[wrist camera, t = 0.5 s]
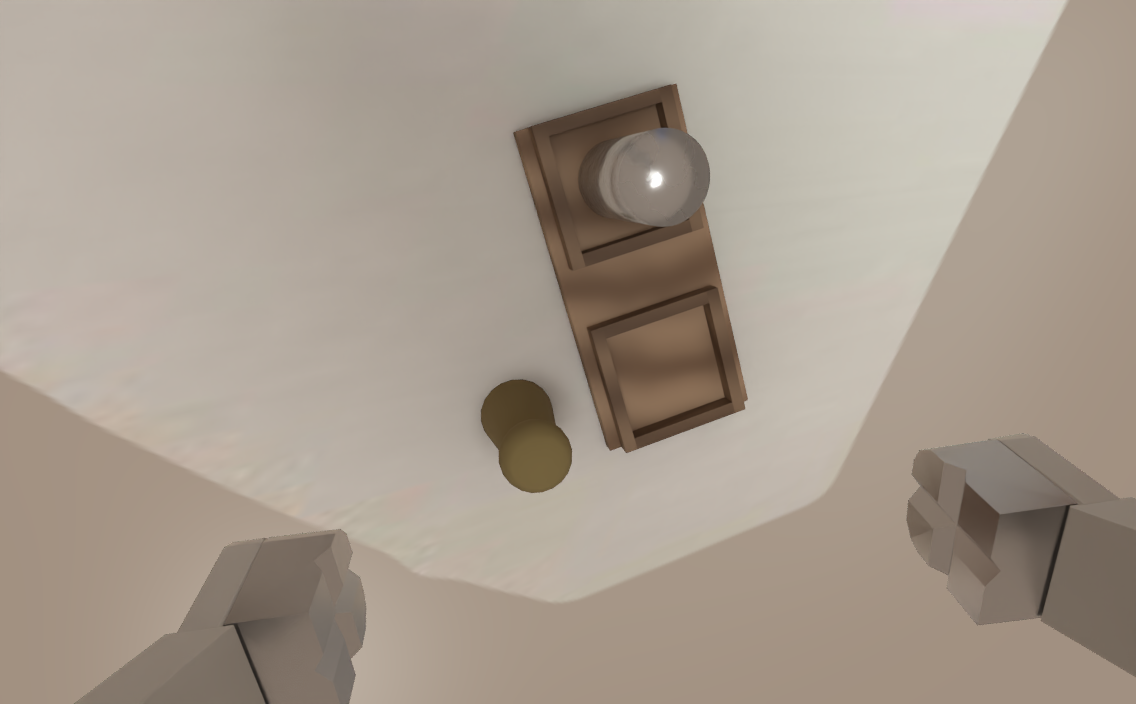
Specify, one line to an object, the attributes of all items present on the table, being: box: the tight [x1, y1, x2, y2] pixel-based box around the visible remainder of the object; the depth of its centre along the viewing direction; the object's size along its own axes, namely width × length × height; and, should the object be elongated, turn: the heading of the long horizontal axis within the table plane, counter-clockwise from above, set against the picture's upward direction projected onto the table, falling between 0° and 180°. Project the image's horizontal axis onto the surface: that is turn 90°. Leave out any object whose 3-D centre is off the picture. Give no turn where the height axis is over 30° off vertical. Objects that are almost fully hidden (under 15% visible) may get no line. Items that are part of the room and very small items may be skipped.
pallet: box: [514, 84, 748, 453], centre depth 55 cm, size 27×13×3 cm, turn 17°
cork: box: [481, 380, 572, 493], centre depth 52 cm, size 6×6×11 cm
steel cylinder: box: [578, 128, 710, 227], centre depth 48 cm, size 6×6×11 cm
